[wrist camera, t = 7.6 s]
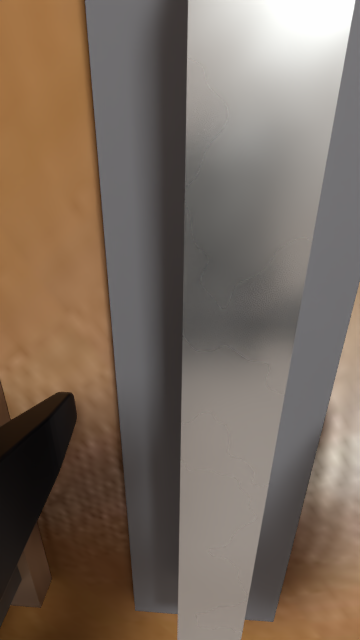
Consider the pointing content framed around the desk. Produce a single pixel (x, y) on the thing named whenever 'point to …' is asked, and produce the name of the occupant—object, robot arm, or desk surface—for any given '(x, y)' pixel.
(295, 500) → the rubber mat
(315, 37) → the steel rail
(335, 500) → the desk surface
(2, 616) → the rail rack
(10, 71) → the desk surface
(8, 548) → the robot arm
